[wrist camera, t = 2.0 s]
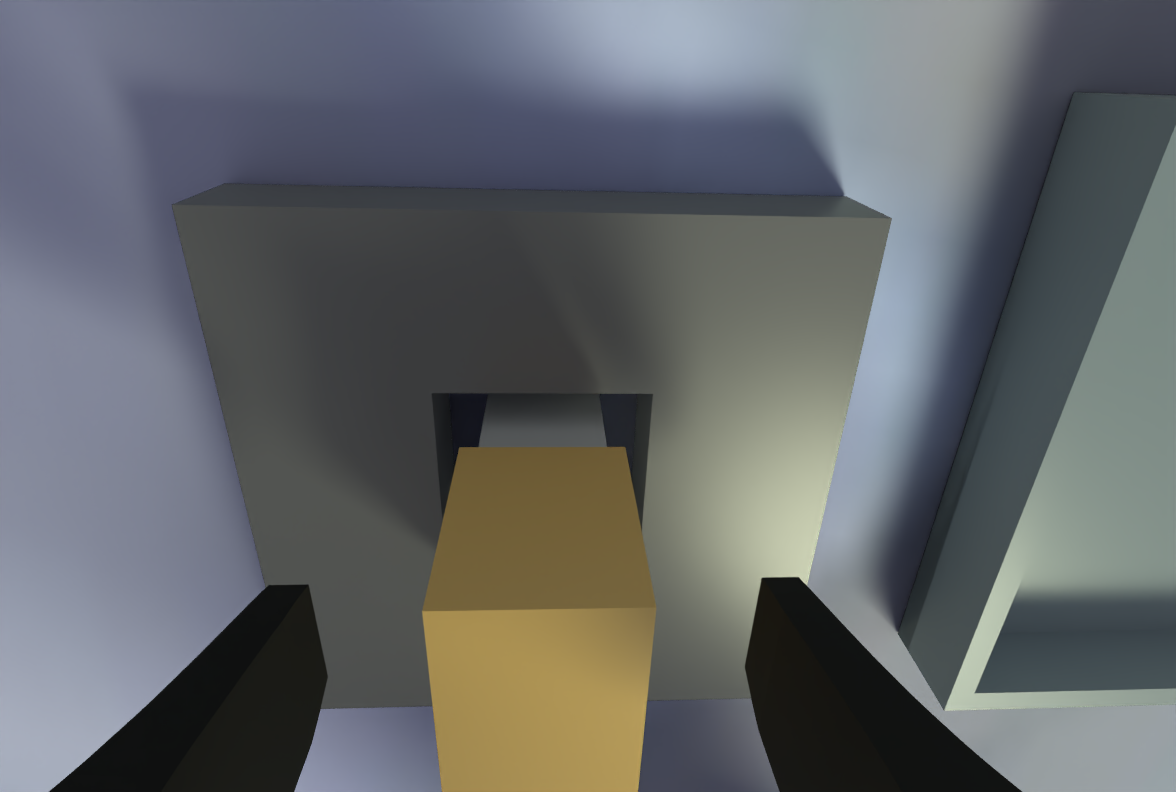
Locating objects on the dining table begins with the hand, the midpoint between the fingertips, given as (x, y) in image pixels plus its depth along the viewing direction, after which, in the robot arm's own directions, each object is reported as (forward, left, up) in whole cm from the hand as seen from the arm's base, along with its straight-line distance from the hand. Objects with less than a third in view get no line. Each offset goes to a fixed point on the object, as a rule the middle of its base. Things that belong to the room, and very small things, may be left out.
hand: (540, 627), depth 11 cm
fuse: (0, 0, -5) cm, 5 cm away
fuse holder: (0, 0, -5) cm, 5 cm away
